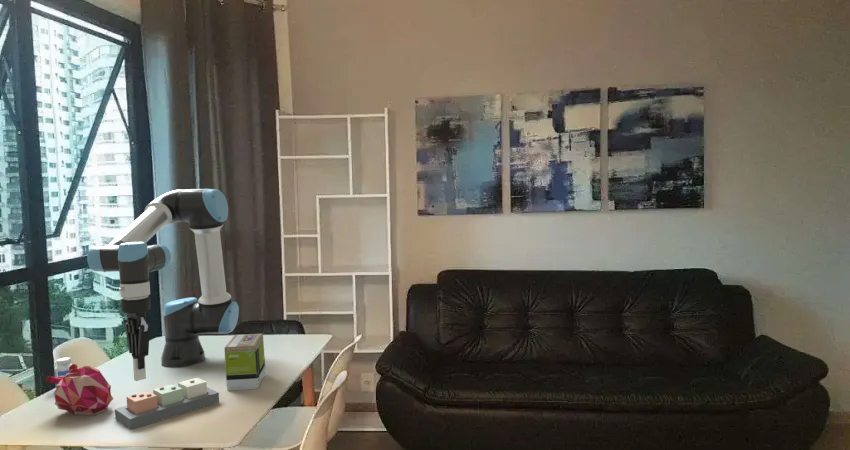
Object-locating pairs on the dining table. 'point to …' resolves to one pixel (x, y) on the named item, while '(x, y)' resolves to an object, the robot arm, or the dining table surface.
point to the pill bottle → (62, 367)
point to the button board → (165, 410)
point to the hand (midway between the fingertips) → (140, 379)
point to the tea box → (245, 362)
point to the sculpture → (82, 391)
